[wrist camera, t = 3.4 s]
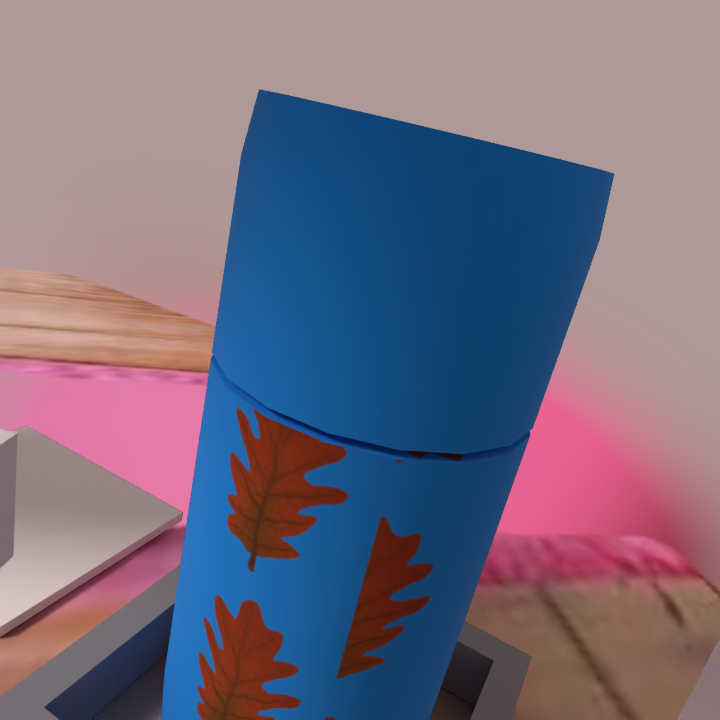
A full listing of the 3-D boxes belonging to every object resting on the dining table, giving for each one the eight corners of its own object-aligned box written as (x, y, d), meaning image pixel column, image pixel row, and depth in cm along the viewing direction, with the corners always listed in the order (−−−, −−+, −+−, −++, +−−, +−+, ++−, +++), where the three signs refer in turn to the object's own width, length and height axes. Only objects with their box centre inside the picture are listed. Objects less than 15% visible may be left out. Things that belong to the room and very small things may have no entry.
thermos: (277, 603, 34) (382, 121, 26) (448, 730, 29) (652, 184, 21) (97, 735, 25) (167, 67, 17) (299, 949, 20) (547, 154, 12)
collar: (-25, 773, 23) (-25, 714, 22) (246, 552, 37) (254, 510, 36) (371, 1122, 17) (397, 1064, 16) (512, 701, 31) (531, 656, 30)
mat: (-178, 506, 33) (-179, 496, 33) (26, 433, 44) (27, 425, 44) (-2, 638, 28) (-2, 628, 28) (181, 520, 39) (182, 512, 39)
